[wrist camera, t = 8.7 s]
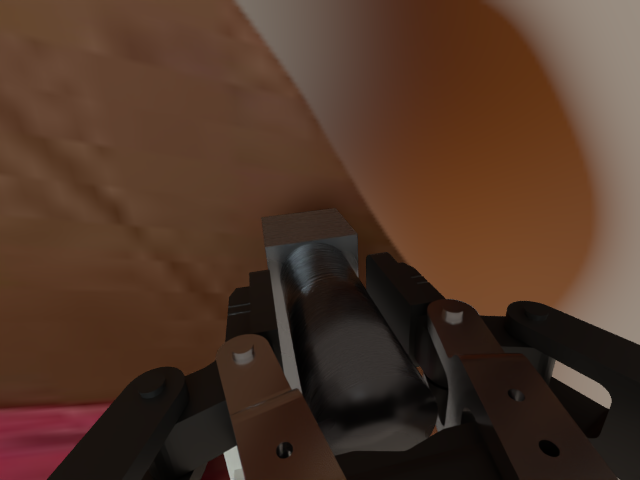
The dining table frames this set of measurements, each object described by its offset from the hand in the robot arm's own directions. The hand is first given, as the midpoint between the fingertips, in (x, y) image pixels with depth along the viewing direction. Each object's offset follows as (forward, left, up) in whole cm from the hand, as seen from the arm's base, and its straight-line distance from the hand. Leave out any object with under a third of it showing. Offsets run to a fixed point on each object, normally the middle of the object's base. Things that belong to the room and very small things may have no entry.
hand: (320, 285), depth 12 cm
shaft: (0, -11, -5) cm, 12 cm away
